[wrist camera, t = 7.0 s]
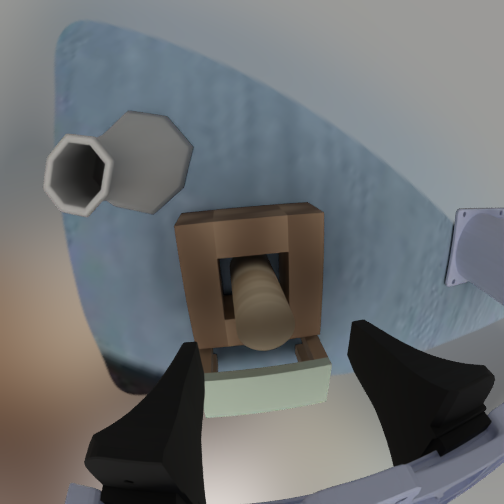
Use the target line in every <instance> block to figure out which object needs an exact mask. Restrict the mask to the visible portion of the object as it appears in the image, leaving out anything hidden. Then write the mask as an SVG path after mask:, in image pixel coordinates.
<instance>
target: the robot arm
mask: <svg viewBox="0 0 504 504" xmlns="http://www.w3.org/2000/svg"><path fill="white" fill-rule="evenodd" d="M466 282H471V283H472V284H474V285H475V286H477V287H478V288H479V289H481V290H482V291H484V292H485V293H487V294H488V295H489V296H491V297H492V298H494V299H495V300H496V301H498V302H499V303H501V304H502V305H503V306H504V208H468V209H467V208H465V209H458V210H457V211H456V216H455V225H454V233H453V241H452V248H451V254H450V260H449V266H448V271H447V276H446V281H445V284H446V285H447V286H448V287H450V286H454V285H458V284H462V283H466ZM347 355H348V358H349V360H350V363H351V365H352V368H353V370H354V372H355V374H356V376H357V378H358V380H359V381H360V383H361V385H362V387H363V388H364V390H365V392H366V394H367V395H368V397H369V399H370V401H371V402H372V404H373V406H374V408H375V410H376V413H377V415H378V418H379V420H380V423H381V425H382V428H383V431H384V434H385V437H386V440H387V443H388V447H389V450H390V454H391V457H392V461H393V466H394V467H392V468H389V469H387V470H384V471H381V472H378V473H376V474H373V475H370V476H367V477H364V478H361V479H358V480H354V481H351V482H348V483H344V484H340V485H337V486H333V487H330V488H327V489H324V490H321V491H318V492H316V493H313V494H310V495H305V496H300V497H295V498H289V499H283V500H277V501H270V502H261V503H252V504H447V503H448V502H450V501H451V500H453V499H455V498H456V497H458V496H459V495H461V494H462V493H464V492H465V491H467V490H468V489H470V488H471V487H472V486H474V485H475V484H476V483H478V482H479V481H480V480H482V479H483V478H485V477H486V476H487V475H488V474H490V473H491V472H492V471H493V470H495V469H496V468H497V467H499V466H500V465H501V464H502V463H504V403H502V404H501V405H499V406H498V407H497V408H495V409H494V410H492V411H491V412H490V413H489V414H488V415H486V414H485V412H484V411H485V410H486V406H485V405H484V404H483V403H484V401H485V399H486V398H487V396H488V394H489V393H490V391H491V389H492V387H493V385H494V381H495V378H494V375H493V374H492V373H491V372H490V371H489V370H488V369H487V368H486V366H484V365H474V364H465V363H459V362H454V361H450V360H446V359H442V358H439V357H436V356H433V355H430V354H427V353H425V352H422V351H420V350H417V349H415V348H413V347H411V346H409V345H407V344H405V343H403V342H401V341H399V340H398V339H396V338H394V337H392V336H391V335H389V334H387V333H386V332H384V331H382V330H381V329H379V328H377V327H376V326H374V325H372V324H371V323H369V322H367V321H365V320H358V321H353V322H352V326H351V333H350V340H349V347H348V353H347ZM204 398H205V377H204V370H203V366H202V362H201V357H200V352H199V348H198V343H197V342H185V343H183V344H182V346H181V347H180V349H179V351H178V353H177V355H176V356H175V358H174V360H173V361H172V363H171V364H170V366H169V367H168V369H167V370H166V372H165V373H164V375H163V376H162V377H161V379H160V380H159V381H158V383H157V384H156V385H155V387H154V388H153V389H152V390H151V391H150V392H149V394H148V395H147V396H146V397H145V398H144V399H143V400H142V401H141V402H140V403H139V404H138V405H137V406H135V407H134V408H133V409H132V410H131V411H130V412H129V413H128V414H126V415H125V416H123V417H122V418H121V419H119V420H118V421H116V422H115V423H113V424H112V425H110V426H109V427H107V428H105V429H103V430H101V431H100V432H98V433H96V434H94V435H93V437H92V439H91V441H90V444H89V447H88V451H87V454H86V458H85V461H84V463H85V466H86V468H87V469H88V470H89V471H90V472H91V473H92V474H93V476H94V477H95V478H96V479H97V480H99V481H100V482H101V483H102V484H103V488H102V491H100V490H98V489H96V488H92V487H88V486H84V485H79V484H75V483H70V485H69V489H68V493H67V497H66V501H65V504H206V499H205V490H204V479H203V466H202V448H201V431H202V420H203V409H204Z"/></svg>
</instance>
